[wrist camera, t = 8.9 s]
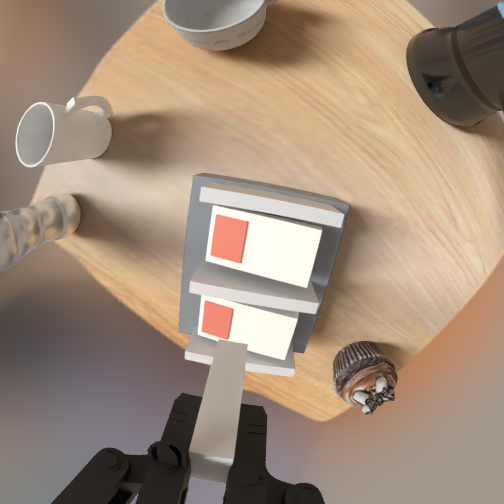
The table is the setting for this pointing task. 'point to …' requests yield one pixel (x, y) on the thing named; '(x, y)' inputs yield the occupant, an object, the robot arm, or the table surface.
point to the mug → (63, 132)
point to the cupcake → (364, 376)
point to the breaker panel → (247, 284)
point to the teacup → (216, 21)
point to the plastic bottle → (36, 226)
